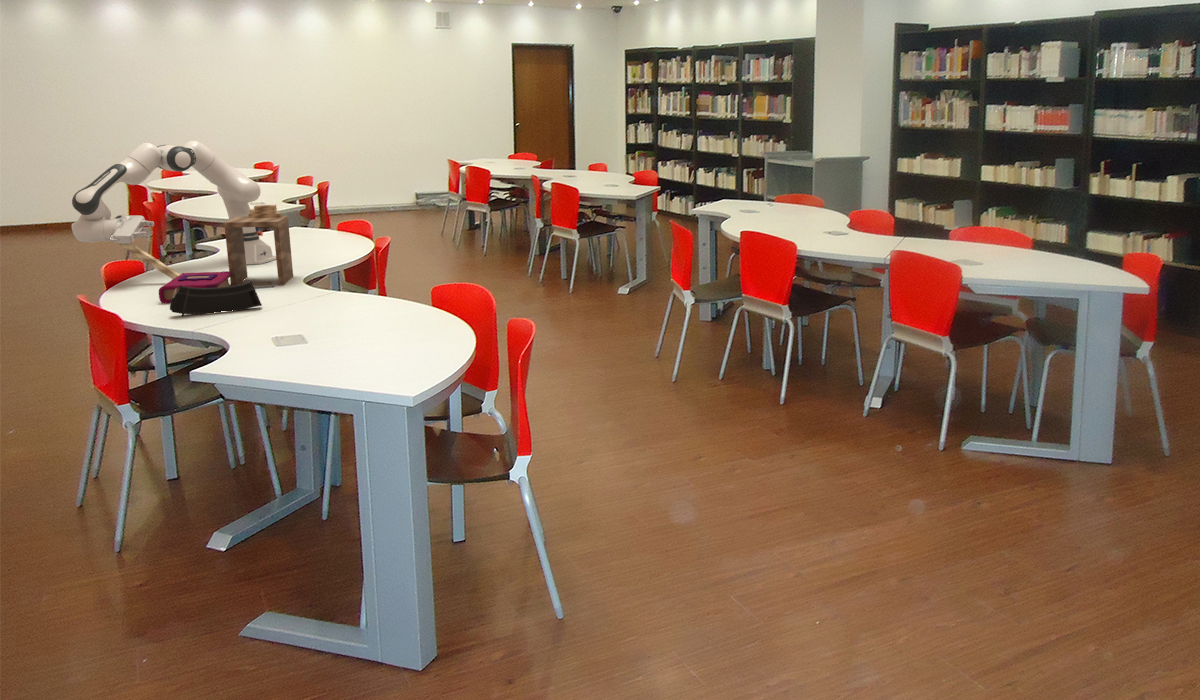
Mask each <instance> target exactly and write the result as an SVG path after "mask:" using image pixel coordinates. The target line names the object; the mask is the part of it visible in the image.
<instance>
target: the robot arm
mask: <svg viewBox="0 0 1200 700" xmlns="http://www.w3.org/2000/svg"><path fill="white" fill-rule="evenodd" d="M191 167H192V168H193V169H194V170H195V171H197V172H198V173H199V174H200V175H201V176H202V177H204V178H205V179H206V180H207V181H209V182H210V183H211V184H213V185H214V186H217V188H216V190H217V193H218V194H219V196H220V197H221V198H222V200H223V204H224V206H225V209H226V213H227V216H228V220H230V219H232V218H235V217H241V216H249V215H248V214H250V210H251V209H252V208H250V205H249V203H253V202H255V201H257V200H258V199H259V198H260V196H261V187H260V185H259V183H258V182H257V181H254V180H253V179H251V178H249V177H247V176H246V175H245V174H243V173H242V172H241V171H239V170H238V169H236V168H234V167H232V166H231V165H230V164H229V163H227V162H226V161H225V160H224V159H223V158H221V156H219V155H218V154H216V153H215V152H214V151H213V150H211V148H209V147H208V146H206V145H205V144H203V143H202V142H200V141H198V140H190V141H188V142H186V143H185V144H184V145H183V146H180V145H176V144H175V145H174V144H162V145H161V144H160V145H158V146H156V145H155V144H153V143H150V142H142V143H141V144H140V145H138V146H136V147H135V148H134V149H133V150H132V151H131V152H130V153H128V155H127V156H125V158H123V160H122V161H120V162H118V163H114V164H113V165H111V166H110V167H109V168H107V169H106V170H105V171H104V172H102V173H101V174H100V175H99V176H98V177H96V178H95V179H94V180H93V181H92V182H91V183H90V184H88V185H87V186H84V187H83V188H81V189H79V190H78V191H76V193H74V195H73V197H72V200H71V204H72V207H73V209H75V210H76V212H78V213H79V214H81V215H80V216H79V217H78V218H77V220H76V221H75V222H73V223H71V233H72V236H73V237H74V238H75V240H77V241H78V242H81V243H100V242H107V243H108V242H112V243H113V242H114V243H115V244H119V243H120V244H129V243H132V244H134V241H135V240H136V239H139V238H142V237H148V235H149V233H148V231H147V230H143V228H144V227H149V228H150V227H151V228H152V227H154V226H155V222H154V221H150V220H146V218H145V217H144V216H143V215H136V214H135V215H125V216H124V214H119V215H117V216H115V217H113V218H111V217H112V213H111V210H110V208H109V207H108V206H107V204H106V203H105V202H104V201H103V200H102V197H103V195H105V194H106V193H107V192H108V191H109V190H110V189H111V188H113V187H114V186H115V185H117V184H119V183H124V184H126V185H131V186H135V185H136V186H137V185H140V184H142V183H143V182H144V181H145V180H147V179H148V177H150V175H151V174H152V173H153V171H154V170H156V169H157V168H159V169H161V170H164V171H168V172H179V173H181V172H184V171H187V170H189V169H190V168H191ZM242 228H243V237H244V247H245V257H246V266H247V265H262V264H267V263H268V262H272V261H274V260H276V255H273V251H272V248H271V246H270V245H269V244H267V243H266V242H264V241H263V240H262V239H260V237H262V236H263V235H264V232H263V231H257V230H256V228H257V227H242Z"/></svg>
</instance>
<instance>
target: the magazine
mask: <svg viewBox="0 0 1200 700" xmlns="http://www.w3.org/2000/svg"><path fill="white" fill-rule="evenodd" d="M169 304H170V305H169V310H170V311H171V313H175V314H181V317H184V315H198V314H200V315H206V314H205V313H214V312H221V311H232V310H233V312H235V311H234V310H239V311H243V310H247V309H248V310H249V309H252V308H256V307H261V306H263V305H262V302H261V300H260V297H259V295H258V292H257V290H256V289H255V285H254V284H253V282H252V280H249V281H246V282H244V283H243V282H242V283H240V284H238V285H234V286H226V287H218V288H193V287H183V286H181V285H179V288H178V290H177V288H176V289H175V291H174V295H173V297H172V299H171V303H169Z"/></svg>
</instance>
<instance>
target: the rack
mask: <svg viewBox="0 0 1200 700" xmlns="http://www.w3.org/2000/svg"><path fill="white" fill-rule="evenodd" d="M250 209H251V210H250V214H248V215H249V216H241V217H235V218H232V219H230V220H229V219H228V220H227V221H225V222H223V225H224V226H223V227H224V233H225V236H224V237H225V244H226V252H227V253H226V254H227V262H228V271H232V276H231V277H229V279H230V280H229V281H230V282H229V283H230V285H239V283H240V282H241V283H243V282H244V281H245V280H246V279H248V277H249V276H248V268H247V265H246V257H245V247H244V237H243V228H242V227H255V228H271V227H272V228H273V237H274V238H273V239H274V248H275V249H274V250H275V256H276V259H275V260H276V269H277V270H276V271H277V280H278V282H277V283H278V285H279V286H284V285H286V284H287V283H288V282H289V281H290V280H291V279H293V278H294V270H293V259H292V249H291V236H290V235H291V234H290V226H289V215H282V212H281V211H278V208H277V204H256V205H254V206H253V208H250ZM244 279H245V280H244ZM243 280H244V281H243ZM241 283H240V284H241Z"/></svg>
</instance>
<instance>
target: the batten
mask: <svg viewBox="0 0 1200 700" xmlns="http://www.w3.org/2000/svg"><path fill="white" fill-rule="evenodd" d="M118 245H119V246H120V247H122V248H123V249H125V250H126V251H128V252H129V253H130V254H131V253H132V254H133V255H134V256H135V257H137V258H139V259H140V260H142V261H143V262H146V264H148V265H150V266H151V267H153V268H155V269H156V270H158V271H159V272H161V273H162V274H164V275H165V276H167V277H169V278H170V279H171V280H173V279H174V278H176V277H177V276H179V275H180V274H181V273H178V272H177V271H175V270H174V269H173V268H172V267H170V266H168V265H166V264H165V263H163V262H162V261H160V260H159V259H157V258H155V257H154V256H153V255H151V254H149V253H148V252H146V251H145V250H143V249H142V248H140V247H139V246H137V245H136V244H134V243H129V244H120V243H118Z"/></svg>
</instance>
